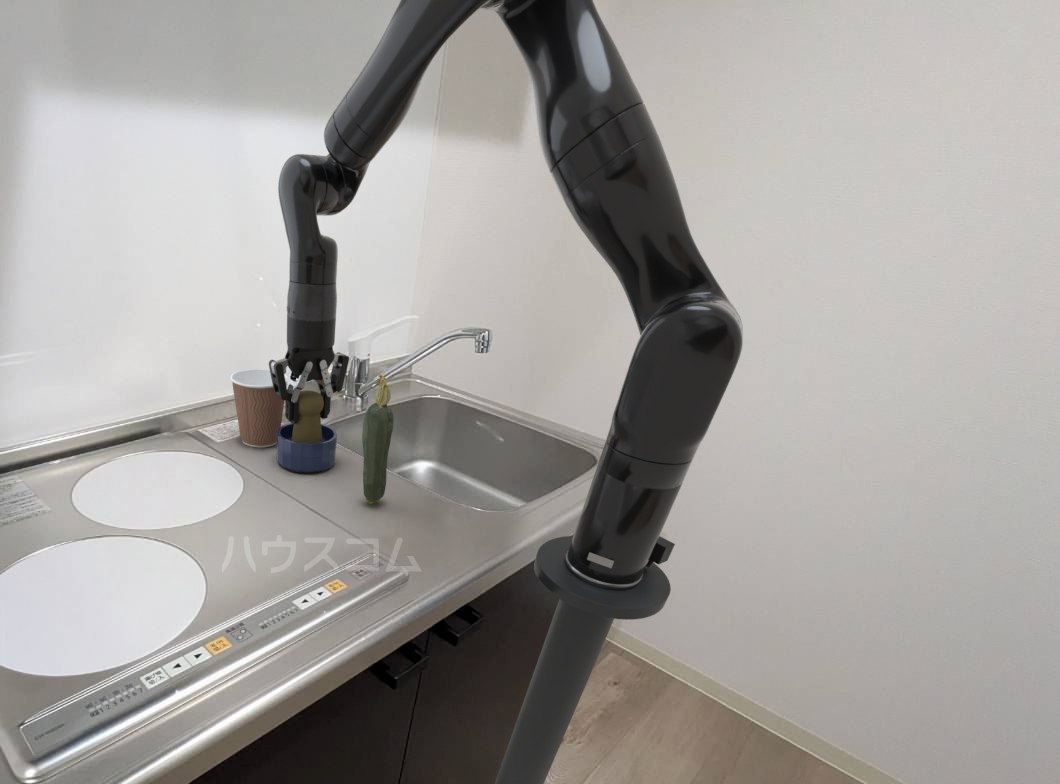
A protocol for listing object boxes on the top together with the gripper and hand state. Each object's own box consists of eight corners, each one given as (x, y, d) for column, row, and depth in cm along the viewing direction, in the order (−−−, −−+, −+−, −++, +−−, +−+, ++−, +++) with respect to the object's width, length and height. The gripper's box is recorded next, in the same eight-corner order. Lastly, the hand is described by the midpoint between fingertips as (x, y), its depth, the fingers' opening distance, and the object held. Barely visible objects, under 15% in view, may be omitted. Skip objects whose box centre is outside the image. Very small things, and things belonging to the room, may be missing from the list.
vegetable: (383, 513, 89) (399, 383, 77) (355, 511, 89) (367, 380, 78) (383, 499, 92) (398, 373, 81) (355, 497, 92) (367, 371, 81)
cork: (283, 457, 100) (283, 394, 94) (298, 445, 105) (299, 384, 99) (315, 464, 98) (318, 401, 92) (329, 451, 103) (332, 390, 97)
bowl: (315, 446, 108) (316, 418, 105) (346, 468, 101) (348, 438, 98) (266, 456, 104) (266, 427, 101) (295, 479, 97) (295, 448, 94)
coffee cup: (296, 436, 112) (297, 374, 105) (272, 455, 104) (272, 389, 97) (249, 426, 115) (247, 365, 108) (222, 444, 107) (219, 379, 100)
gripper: (281, 321, 83) (280, 434, 92) (364, 315, 89) (355, 420, 99) (258, 311, 88) (259, 418, 97) (337, 305, 95) (331, 406, 104)
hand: (307, 419), depth 98 cm, fingers closed on cork, 5 cm apart
